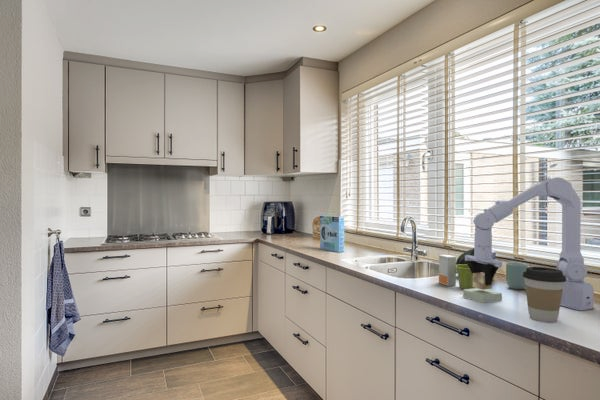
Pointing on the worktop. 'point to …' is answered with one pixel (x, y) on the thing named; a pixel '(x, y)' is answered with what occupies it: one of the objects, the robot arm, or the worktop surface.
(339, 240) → the gum box
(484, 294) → the sage block
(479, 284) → the maple block
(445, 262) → the skincare box
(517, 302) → the worktop surface
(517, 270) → the cup
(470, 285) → the plant pot
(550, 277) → the coffee cup
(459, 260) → the squash
